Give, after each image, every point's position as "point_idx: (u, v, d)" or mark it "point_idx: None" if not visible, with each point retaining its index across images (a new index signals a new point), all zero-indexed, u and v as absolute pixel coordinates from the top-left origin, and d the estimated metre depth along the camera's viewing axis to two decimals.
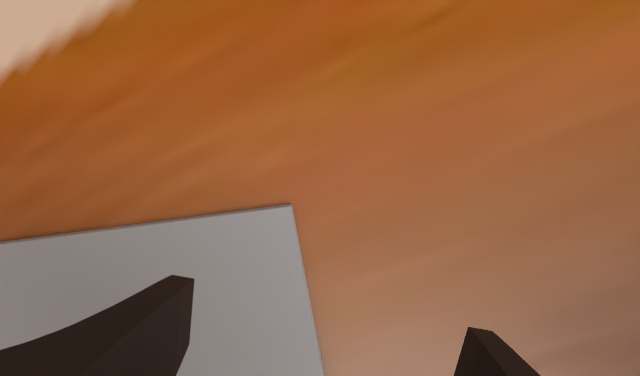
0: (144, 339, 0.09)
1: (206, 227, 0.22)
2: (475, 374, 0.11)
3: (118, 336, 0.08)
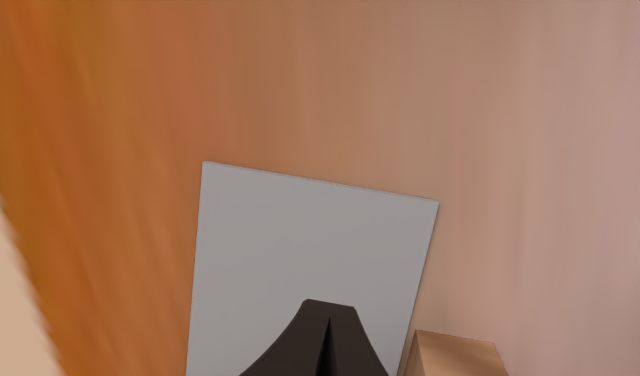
0: (316, 370, 0.09)
1: (206, 246, 0.23)
2: (325, 347, 0.11)
3: (310, 371, 0.08)
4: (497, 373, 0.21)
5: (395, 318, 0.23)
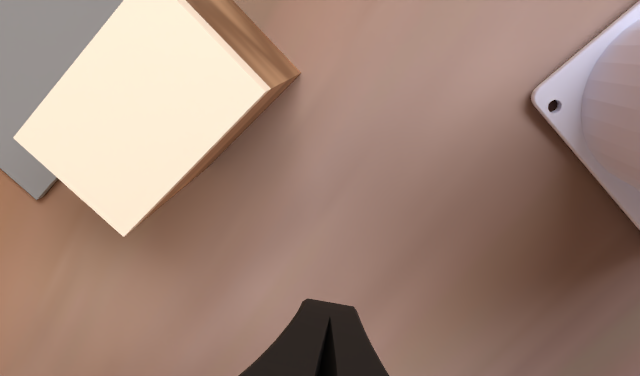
0: (316, 370, 0.09)
1: None
2: (325, 347, 0.11)
3: (310, 371, 0.08)
4: (283, 66, 0.17)
5: None
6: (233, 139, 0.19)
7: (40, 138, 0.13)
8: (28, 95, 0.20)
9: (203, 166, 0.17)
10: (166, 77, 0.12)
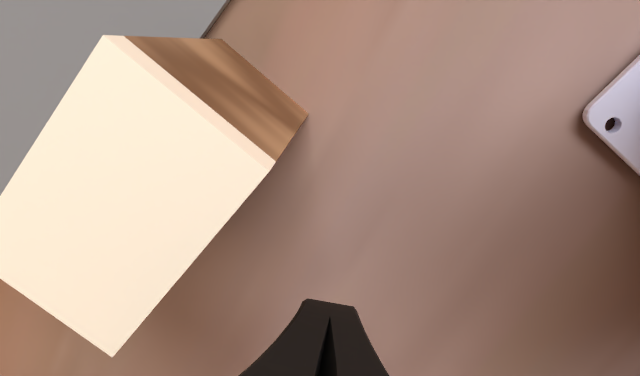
0: (316, 370, 0.09)
1: None
2: (325, 347, 0.11)
3: (310, 371, 0.08)
4: (288, 113, 0.14)
5: None
6: None
7: None
8: (4, 168, 0.18)
9: None
10: (142, 165, 0.09)
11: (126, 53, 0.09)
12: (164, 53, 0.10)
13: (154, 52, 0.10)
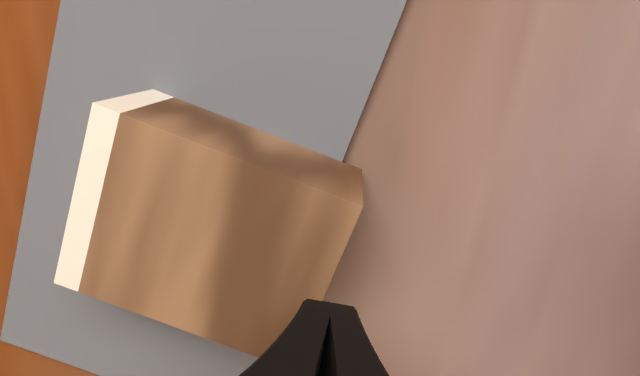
0: (316, 370, 0.09)
1: None
2: (325, 347, 0.11)
3: (310, 370, 0.08)
4: (284, 170, 0.13)
5: (330, 136, 0.17)
6: (275, 298, 0.14)
7: None
8: (193, 334, 0.19)
9: (202, 297, 0.14)
10: None
11: (148, 90, 0.16)
12: (194, 109, 0.16)
13: (182, 104, 0.16)
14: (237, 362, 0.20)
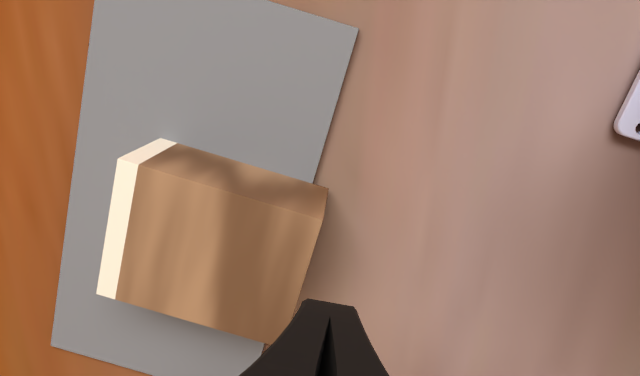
0: (316, 370, 0.09)
1: (99, 54, 0.20)
2: (325, 347, 0.11)
3: (310, 370, 0.08)
4: (263, 197, 0.18)
5: (301, 164, 0.21)
6: (264, 294, 0.19)
7: None
8: (206, 329, 0.24)
9: (208, 297, 0.19)
10: None
11: (156, 140, 0.21)
12: (193, 151, 0.21)
13: (184, 148, 0.21)
14: (243, 350, 0.24)
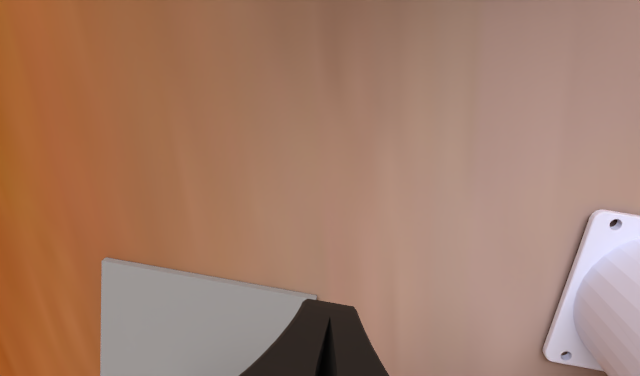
0: (316, 370, 0.09)
1: (110, 332, 0.25)
2: (325, 347, 0.11)
3: (310, 371, 0.08)
4: None
5: None
6: None
7: None
8: None
9: None
10: None
11: None
12: None
13: None
14: None
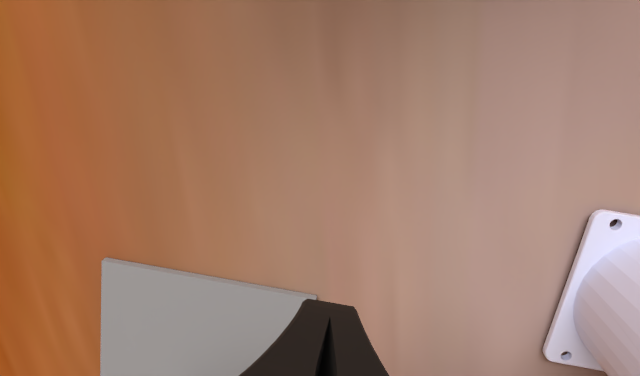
0: (316, 370, 0.09)
1: (110, 332, 0.25)
2: (325, 347, 0.11)
3: (310, 371, 0.08)
4: None
5: None
6: None
7: None
8: None
9: None
10: None
11: None
12: None
13: None
14: None
